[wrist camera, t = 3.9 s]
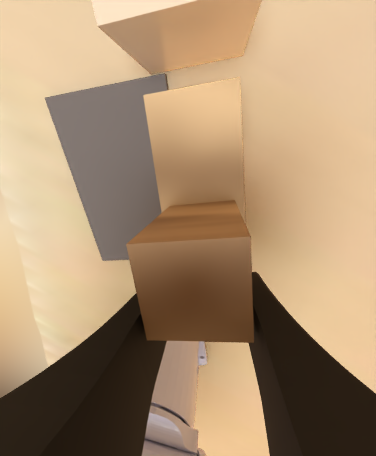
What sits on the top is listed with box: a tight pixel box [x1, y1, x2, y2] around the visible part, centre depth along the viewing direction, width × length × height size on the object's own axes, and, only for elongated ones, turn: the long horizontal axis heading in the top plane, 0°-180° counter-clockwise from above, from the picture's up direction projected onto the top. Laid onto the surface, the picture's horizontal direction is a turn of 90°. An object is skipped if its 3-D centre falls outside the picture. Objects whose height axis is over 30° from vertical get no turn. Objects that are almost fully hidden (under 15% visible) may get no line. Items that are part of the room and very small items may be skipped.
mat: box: [45, 73, 168, 261], centre depth 17 cm, size 14×9×1 cm, turn 8°
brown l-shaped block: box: [126, 77, 254, 343], centre depth 8 cm, size 9×4×7 cm, turn 8°
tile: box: [91, 0, 262, 74], centre depth 10 cm, size 2×6×7 cm, turn 98°
